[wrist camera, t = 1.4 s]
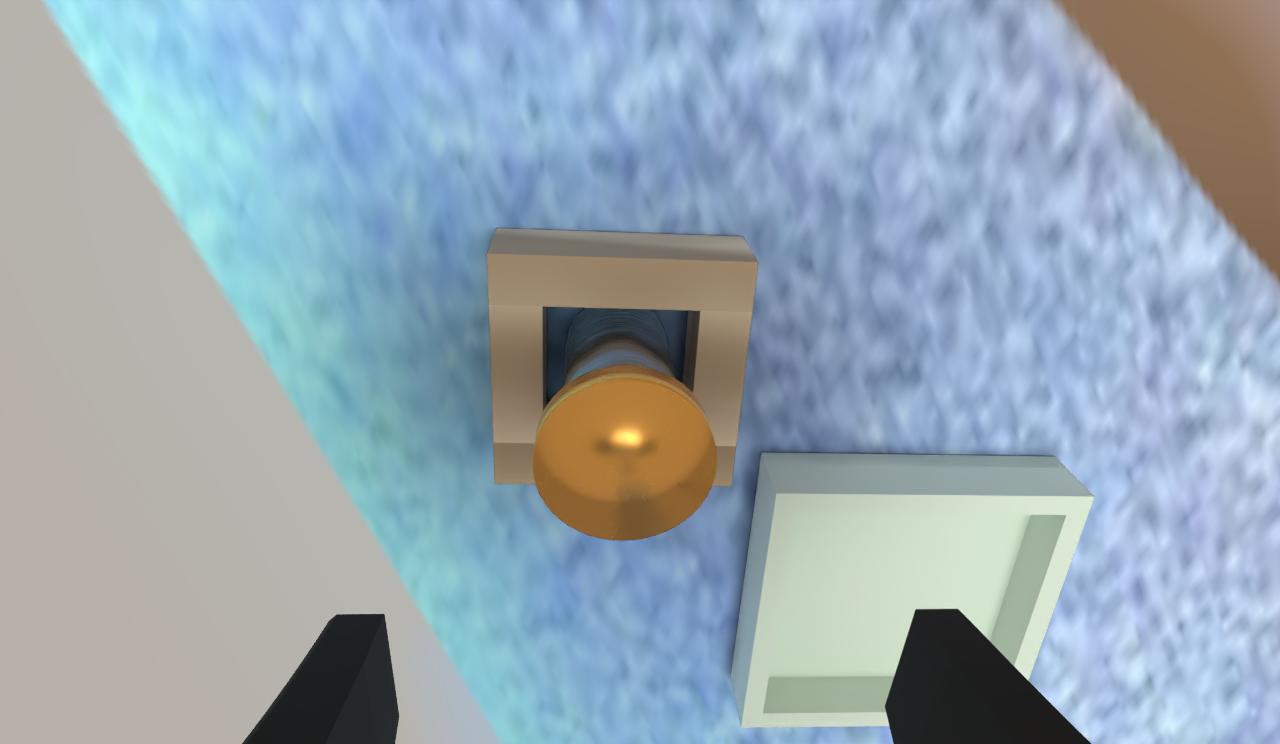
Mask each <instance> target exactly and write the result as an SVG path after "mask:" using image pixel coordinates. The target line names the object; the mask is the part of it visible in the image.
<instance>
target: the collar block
mask: <svg viewBox="0 0 1280 744" xmlns="http://www.w3.org/2000/svg"><path fill="white" fill-rule="evenodd" d="M487 269H488V299H489V329H490V358H491V388H492V417H493V447H494V477H495V484H535V480H534V476H533V452H534V444H535V435H536V430H537V426H538V422H539V420H540V417H541V414H542V413H543V411H544V409H545V407H546V405H547V307H581V308H618V309H655V310H688V320H687V332H686V344H685V356H684V368H683V380H682V383H683V384H684V385H685V386H686V387H687V388H688V389H690V390H691V391H692V392H693V394H694V395H695V396H696V397H697V398H698V400H699V401H700V403H701V404H702V406H703V407H704V410H705V412H706V414H707V416H708V419H709V423H710V426H711V430H712V434H713V438H714V441H715V445H716V451H717V470H716V475H715V479H714V482H713V485H712V486H731V485H732V476H733V468H734V460H735V452H736V443H737V435H738V427H739V418H740V410H741V402H742V394H743V385H744V377H745V369H746V360H747V352H748V344H749V336H750V327H751V319H752V311H753V302H754V294H755V286H756V277H757V269H758V261H757V259H756V257H755V256H754V254H753V252H752V251H751V249H750V247H749V246H748V244H747V242H746V241H745V239H744V237H743V236H716V235H687V234H657V233H628V232H598V231H569V230H539V229H509V228H496V231H495V233H494V236H493V239H492V241H491V244H490V247H489V250H488V252H487Z"/></svg>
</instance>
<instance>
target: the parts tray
mask: <svg viewBox="0 0 1280 744" xmlns="http://www.w3.org/2000/svg"><path fill="white" fill-rule="evenodd" d="M1093 499H1094V496H1093V495H1092V494H1091V493H1090V492H1089V491H1088V490H1087V488H1086V487H1085V486H1084V485H1083V484H1082V483H1081V482H1080V481H1079V480H1078V479H1077V478H1076V477H1075V476H1074V475H1073V474H1072V473H1071V472H1070V471H1069V470H1068V469H1067V468H1066V467H1065V466H1064V465H1063V464H1062V463H1061V462H1060V461H1059V460H1058V459H1057V458H1056V457H1053V456H981V455H910V454H838V453H767V452H762V453H761V460H760V467H759V475H758V482H757V489H756V497H755V504H754V511H753V518H752V526H751V533H750V540H749V547H748V555H747V562H746V569H745V577H744V584H743V591H742V598H741V606H740V613H739V620H738V628H737V635H736V642H735V649H734V657H733V664H732V671H731V680H732V685H733V690H734V695H735V700H736V705H737V710H738V715H739V720H740V725H741V728H755V727H843V726H889V722H888V718H887V714H886V710H885V704H886V701H887V697H888V694H889V691H890V688H891V685H892V682H893V679H894V675H895V672H896V669H897V666H898V663H899V660H900V657H901V653H902V650H903V647H904V644H905V641H906V638H907V635H908V631H909V628H910V625H911V622H912V619H913V616H914V613H915V609H959V610H960V611H961V612H962V613H963V614H964V615H965V616H966V617H967V618H968V619H969V620H970V621H971V622H972V623H973V624H974V625H975V626H976V627H977V628H978V629H979V630H980V631H981V633H982V634H983V635H984V636H985V637H986V638H987V639H988V640H989V641H990V642H991V643H992V644H993V645H994V646H995V647H996V648H997V649H998V650H999V651H1000V652H1001V653H1002V654H1003V655H1004V656H1005V657H1006V658H1007V659H1008V660H1009V662H1010V663H1011V664H1012V665H1013V666H1014V667H1015V668H1016V669H1017V670H1018V671H1019V672H1020V673H1021V674H1022V675H1023V676H1024V677H1025V678H1026V679H1027V680H1029V677H1030V674H1031V672H1032V669H1033V666H1034V663H1035V660H1036V658H1037V655H1038V652H1039V649H1040V647H1041V644H1042V641H1043V638H1044V635H1045V633H1046V630H1047V627H1048V624H1049V622H1050V619H1051V616H1052V613H1053V610H1054V608H1055V605H1056V602H1057V599H1058V597H1059V594H1060V591H1061V588H1062V585H1063V583H1064V580H1065V577H1066V574H1067V572H1068V569H1069V566H1070V563H1071V560H1072V558H1073V555H1074V552H1075V549H1076V547H1077V544H1078V541H1079V538H1080V535H1081V533H1082V530H1083V527H1084V524H1085V522H1086V519H1087V516H1088V513H1089V510H1090V508H1091V505H1092V502H1093Z"/></svg>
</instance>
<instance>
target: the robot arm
mask: <svg viewBox="0 0 1280 744" xmlns="http://www.w3.org/2000/svg"><path fill="white" fill-rule="evenodd" d="M885 710H886V714H887V718H888V722H889V726H890V730H891V734H892V738H893V742H894V744H1091V743H1090V742H1089V741H1088V740H1087V739H1086V738H1085V737H1084V736H1083V735H1082V734H1081V733H1080V732H1079V731H1078V730H1077V729H1076V728H1075V727H1074V726H1073V725H1072V724H1071V723H1070V722H1069V721H1068V720H1067V719H1066V718H1065V717H1064V716H1063V715H1062V714H1061V713H1060V712H1059V711H1058V710H1057V709H1056V708H1055V707H1054V706H1053V705H1052V704H1051V703H1050V702H1049V701H1048V700H1047V699H1046V698H1045V697H1044V696H1043V695H1042V694H1041V693H1040V692H1039V691H1038V690H1037V689H1036V688H1035V687H1034V686H1033V685H1032V684H1031V683H1030V682H1029V681H1028V680H1027V679H1026V678H1025V677H1024V676H1023V675H1022V674H1021V673H1020V672H1019V671H1018V670H1017V669H1016V668H1015V667H1014V666H1013V665H1012V664H1011V663H1010V662H1009V660H1008V659H1007V658H1006V657H1005V656H1004V655H1003V654H1002V653H1001V652H1000V651H999V650H998V649H997V648H996V647H995V646H994V645H993V644H992V643H991V642H990V641H989V640H988V639H987V638H986V637H985V636H984V635H983V634H982V633H981V631H980V630H979V629H978V628H977V627H976V626H975V625H974V624H973V623H972V622H971V621H970V620H969V619H968V618H967V617H966V616H965V615H964V614H963V613H962V612H961V611H960V610H959V609H915V613H914V616H913V619H912V622H911V625H910V628H909V631H908V635H907V638H906V641H905V644H904V647H903V650H902V653H901V657H900V660H899V663H898V666H897V669H896V672H895V675H894V679H893V682H892V685H891V688H890V691H889V694H888V697H887V701H886V704H885ZM398 720H399V712H398V705H397V698H396V691H395V684H394V677H393V671H392V664H391V656H390V649H389V642H388V636H387V629H386V622H385V615H384V614H351V615H350V614H345V615H344V614H343V615H336V616H335V617H333V618H332V619H331V620H330V621H329V622H328V623H327V625H326V627H325V628H324V630H323V631H322V633H321V634H320V636H319V637H318V639H317V640H316V642H315V643H314V645H313V646H312V648H311V649H310V651H309V652H308V654H307V655H306V657H305V658H304V660H303V661H302V663H301V664H300V666H299V667H298V669H297V670H296V671H295V673H294V674H293V676H292V677H291V679H290V680H289V681H288V683H287V684H286V685H285V687H284V688H283V690H282V691H281V692H280V694H279V695H278V697H277V698H276V699H275V701H274V702H273V703H272V705H271V706H270V708H269V709H268V710H267V712H266V713H265V714H264V716H263V717H262V718H261V720H260V721H259V722H258V724H257V725H256V726H255V728H254V729H253V730H252V732H251V733H250V735H248V737H247V738H246V739H245V741H244V742H243V743H242V744H395V740H396V733H397V727H398Z"/></svg>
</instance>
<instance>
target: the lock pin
mask: <svg viewBox="0 0 1280 744" xmlns="http://www.w3.org/2000/svg"><path fill="white" fill-rule="evenodd" d="M716 470H717V451H716V445H715V441H714V438H713V434H712V430H711V426H710V423H709V419H708V416H707V414H706V412H705V410H704V407H703V406H702V404H701V403H700V401H699V400H698V398H697V397H696V396H695V395H694V394H693V392H692V391H691V390H690V389H688V388H687V387H686V386H685V385H684V384H683V383H681V382H680V381H678V380H677V379H675V376H674V372H673V367H672V362H671V358H670V353H669V348H668V344H667V339H666V335H665V331H664V328H663V326H662V323H661V322H660V320H659V318H658V317H657V316H656V315H655V313H654V312H653V311H651V310H650V309H618V308H584V309H583V310H582V311H581V312H580V313H579V314H578V315H577V316H576V317H575V319H574V320H573V322H572V324H571V325H570V328H569V330H568V334H567V340H566V354H565V370H564V386H563V387H562V388H561V389H560V390H559V391H558V392H557V393H556V394H555V395H554V396H553V397H552V399H551V400H550V401H549V403H548V404H547V405H546V407H545V409H544V411H543V413H542V414H541V417H540V420H539V422H538V426H537V430H536V435H535V444H534V452H533V476H534V480H535V484H536V487H537V489H538V492H539V494H540V496H541V498H542V499H543V501H544V503H545V504H546V505H547V507H548V508H549V509H550V510H551V512H552V513H554V514H555V515H556V516H557V517H558V518H559V519H560V520H561V521H563V522H564V523H566V524H567V525H568V526H570V527H572V528H574V529H576V530H577V531H580V532H582V533H585V534H587V535H590V536H594V537H597V538H602V539H608V540H620V541H624V540H637V539H643V538H648V537H651V536H655V535H658V534H661V533H663V532H666V531H668V530H670V529H672V528H674V527H676V526H677V525H679V524H680V523H682V522H683V521H685V520H686V519H687V518H688V517H689V516H691V515H692V514H693V513H694V512H695V511H696V510H697V509H698V508H699V507H700V505H701V504H702V503H703V501H704V500H705V498H706V497H707V495H708V493H709V491H710V489H711V487H712V485H713V482H714V479H715V475H716Z"/></svg>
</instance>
